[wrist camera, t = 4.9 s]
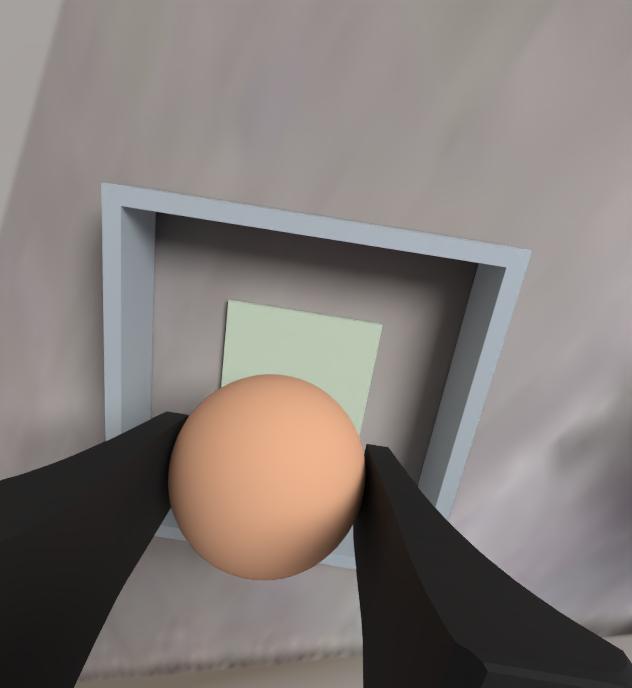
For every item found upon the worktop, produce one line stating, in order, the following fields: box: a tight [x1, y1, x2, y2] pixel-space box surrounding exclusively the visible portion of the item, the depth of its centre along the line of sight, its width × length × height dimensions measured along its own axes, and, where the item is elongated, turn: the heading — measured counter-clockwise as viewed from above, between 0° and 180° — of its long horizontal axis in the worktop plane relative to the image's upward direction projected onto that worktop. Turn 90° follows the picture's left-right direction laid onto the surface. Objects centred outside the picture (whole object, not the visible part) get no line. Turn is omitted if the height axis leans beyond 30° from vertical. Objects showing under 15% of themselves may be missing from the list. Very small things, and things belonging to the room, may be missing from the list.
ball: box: [168, 374, 366, 580], centre depth 11 cm, size 5×5×5 cm
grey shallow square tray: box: [101, 182, 532, 570], centre depth 16 cm, size 13×13×2 cm
